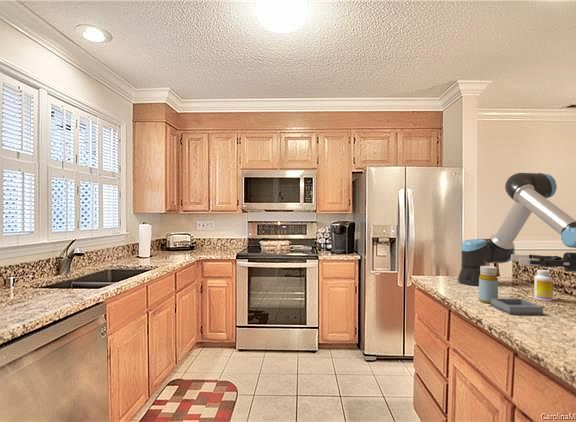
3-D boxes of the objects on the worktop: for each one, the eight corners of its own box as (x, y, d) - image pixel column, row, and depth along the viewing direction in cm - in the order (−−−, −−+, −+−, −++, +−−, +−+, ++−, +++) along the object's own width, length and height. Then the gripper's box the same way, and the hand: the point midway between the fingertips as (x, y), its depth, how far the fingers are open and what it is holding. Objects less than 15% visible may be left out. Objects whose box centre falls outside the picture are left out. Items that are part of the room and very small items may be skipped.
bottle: (481, 299, 154) (482, 265, 154) (499, 302, 150) (500, 267, 149) (476, 301, 150) (476, 266, 150) (494, 305, 145) (495, 268, 145)
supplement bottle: (556, 302, 150) (556, 272, 150) (538, 301, 152) (538, 271, 152) (547, 298, 157) (548, 269, 157) (531, 297, 158) (531, 268, 158)
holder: (490, 305, 144) (490, 298, 144) (521, 305, 144) (521, 298, 144) (509, 314, 131) (509, 306, 131) (542, 315, 131) (542, 307, 131)
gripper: (592, 277, 127) (523, 273, 134) (565, 267, 150) (508, 264, 158) (592, 256, 127) (523, 253, 134) (565, 249, 150) (508, 247, 158)
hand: (515, 259), depth 146 cm, fingers open, 13 cm apart
